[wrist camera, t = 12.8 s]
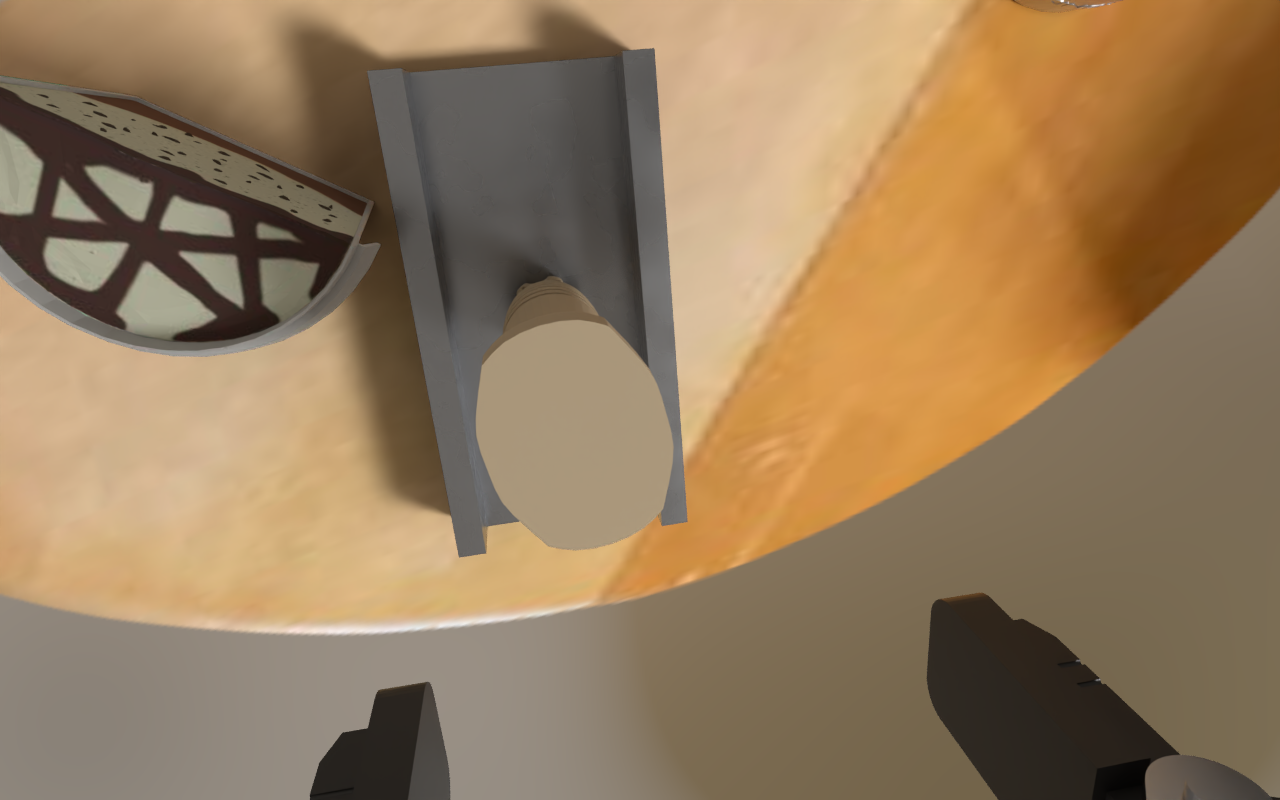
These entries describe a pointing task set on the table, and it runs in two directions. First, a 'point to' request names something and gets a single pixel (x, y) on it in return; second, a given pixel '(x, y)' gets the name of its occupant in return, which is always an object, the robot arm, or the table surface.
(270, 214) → the food container
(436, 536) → the table surface
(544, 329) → the handle
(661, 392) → the track
